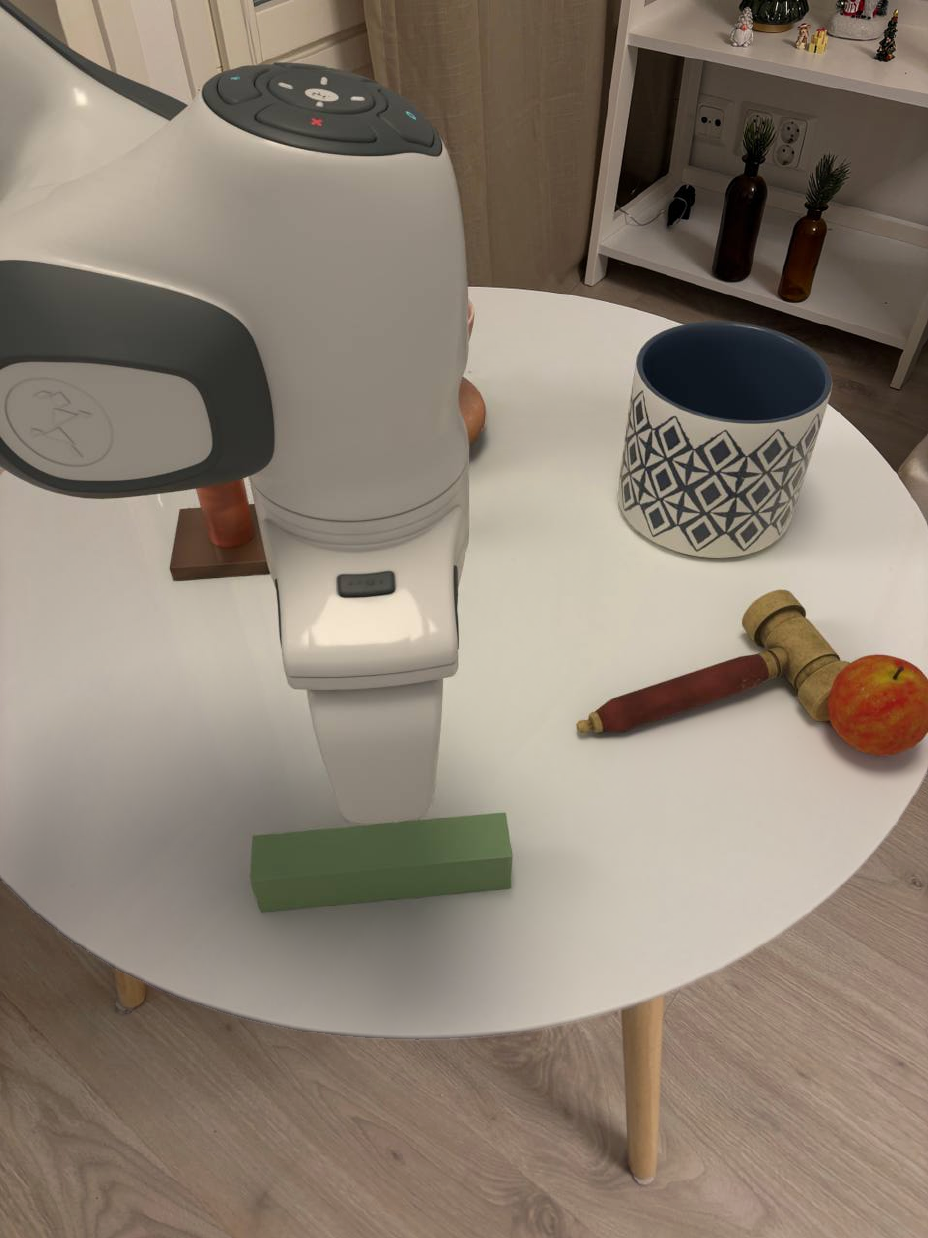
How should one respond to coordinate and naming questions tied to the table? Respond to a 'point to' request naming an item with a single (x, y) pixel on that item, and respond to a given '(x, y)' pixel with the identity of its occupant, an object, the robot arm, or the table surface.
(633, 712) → the gavel
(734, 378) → the planter
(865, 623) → the table surface
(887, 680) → the fruit
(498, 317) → the table surface
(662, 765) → the table surface
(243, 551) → the rod stand
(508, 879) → the bar
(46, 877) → the table surface
